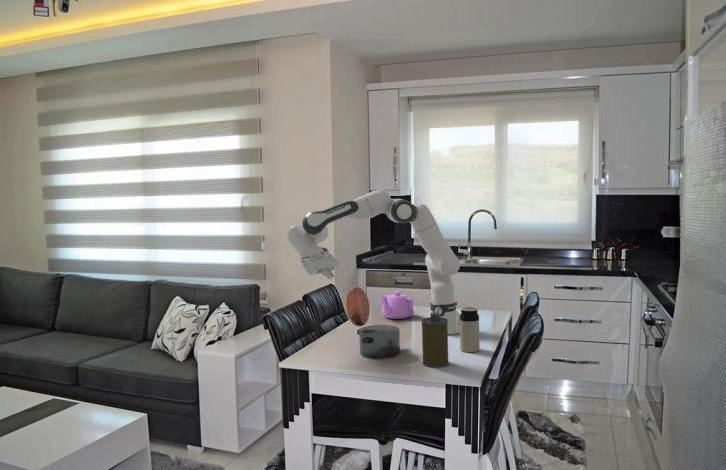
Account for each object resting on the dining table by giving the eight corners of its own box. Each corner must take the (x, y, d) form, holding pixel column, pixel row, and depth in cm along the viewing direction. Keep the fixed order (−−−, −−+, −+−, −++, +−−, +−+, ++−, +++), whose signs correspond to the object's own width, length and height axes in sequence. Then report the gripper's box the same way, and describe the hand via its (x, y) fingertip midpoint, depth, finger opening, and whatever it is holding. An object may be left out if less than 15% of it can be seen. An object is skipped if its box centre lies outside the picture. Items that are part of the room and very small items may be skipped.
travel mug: (476, 353, 230) (475, 310, 229) (457, 351, 234) (457, 309, 232) (481, 348, 237) (481, 306, 236) (463, 346, 241) (463, 305, 239)
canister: (448, 368, 212) (447, 316, 211) (421, 367, 214) (419, 316, 213) (449, 359, 223) (448, 310, 221) (423, 359, 225) (422, 310, 223)
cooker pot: (374, 343, 251) (374, 321, 250) (410, 347, 242) (410, 324, 241) (345, 358, 230) (344, 334, 229) (383, 363, 221) (383, 338, 220)
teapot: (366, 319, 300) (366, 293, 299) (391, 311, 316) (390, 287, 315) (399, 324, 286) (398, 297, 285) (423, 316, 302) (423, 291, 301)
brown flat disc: (372, 321, 246) (367, 322, 247) (365, 284, 246) (360, 285, 248) (353, 330, 232) (347, 330, 233) (345, 290, 232) (340, 291, 233)
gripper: (302, 253, 239) (322, 276, 235) (329, 248, 257) (348, 269, 252) (294, 263, 242) (314, 286, 237) (321, 257, 259) (340, 279, 255)
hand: (331, 277), depth 245 cm, fingers closed
